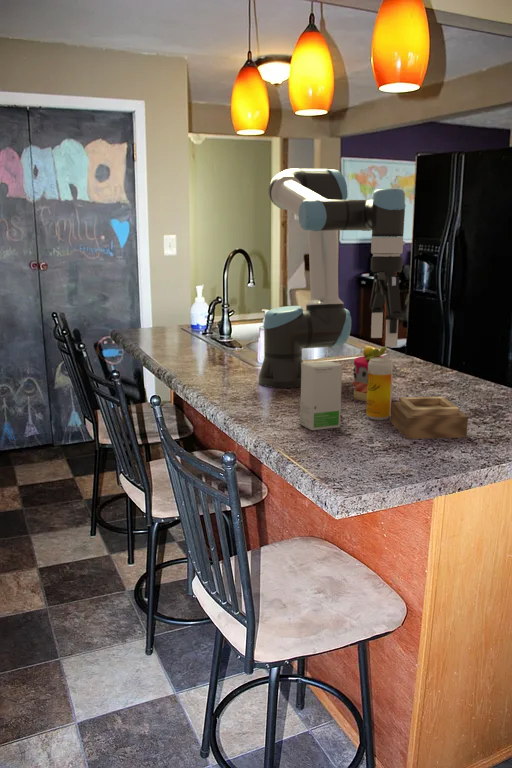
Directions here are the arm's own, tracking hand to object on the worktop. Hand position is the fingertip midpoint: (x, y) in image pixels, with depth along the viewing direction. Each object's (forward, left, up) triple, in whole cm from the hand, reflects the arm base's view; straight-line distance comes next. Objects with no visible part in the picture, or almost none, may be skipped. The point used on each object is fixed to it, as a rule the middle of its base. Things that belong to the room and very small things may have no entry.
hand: (383, 342), depth 164 cm
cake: (+2, +19, -19) cm, 27 cm away
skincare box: (-17, -7, -19) cm, 27 cm away
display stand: (+8, -12, -19) cm, 24 cm away
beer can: (-1, -1, -19) cm, 19 cm away
